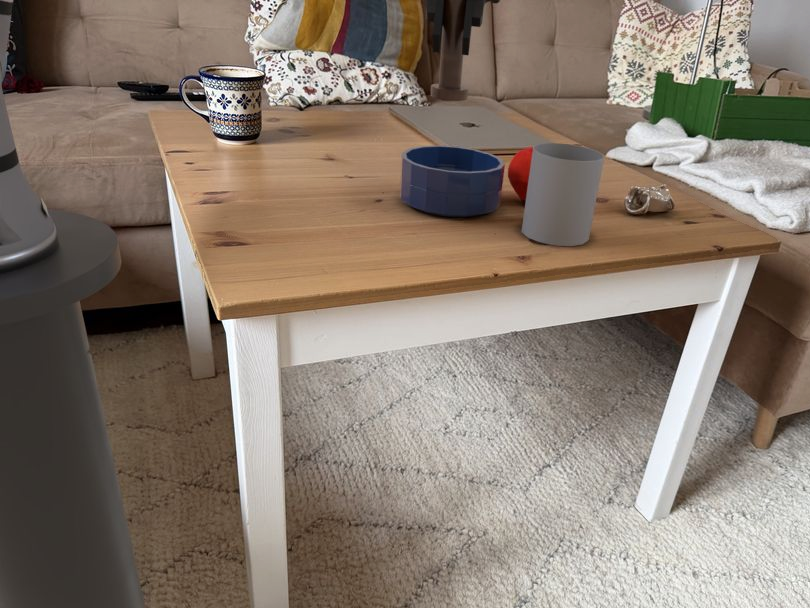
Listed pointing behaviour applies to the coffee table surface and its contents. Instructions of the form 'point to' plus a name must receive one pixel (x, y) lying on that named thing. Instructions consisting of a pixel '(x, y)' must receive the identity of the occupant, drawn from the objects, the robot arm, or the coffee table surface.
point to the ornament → (648, 199)
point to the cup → (561, 193)
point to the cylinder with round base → (451, 54)
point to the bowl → (451, 180)
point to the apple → (520, 172)
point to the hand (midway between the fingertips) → (450, 44)
